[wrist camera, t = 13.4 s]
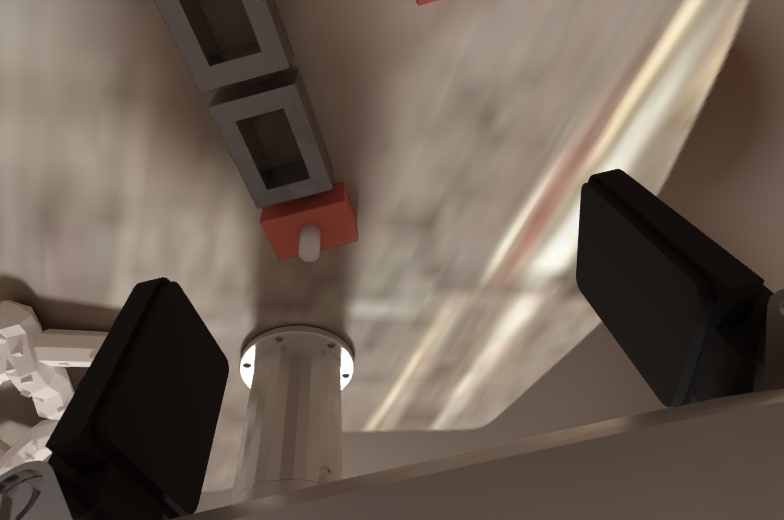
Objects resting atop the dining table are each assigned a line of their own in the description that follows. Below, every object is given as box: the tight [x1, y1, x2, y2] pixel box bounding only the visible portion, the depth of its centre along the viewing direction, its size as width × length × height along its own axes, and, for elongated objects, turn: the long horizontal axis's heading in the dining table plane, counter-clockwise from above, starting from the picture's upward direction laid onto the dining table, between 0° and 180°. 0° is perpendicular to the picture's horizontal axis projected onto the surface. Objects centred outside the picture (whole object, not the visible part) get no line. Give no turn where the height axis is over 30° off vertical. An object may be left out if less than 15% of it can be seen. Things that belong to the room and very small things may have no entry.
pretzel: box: [0, 300, 109, 476], centre depth 48 cm, size 28×24×6 cm
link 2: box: [208, 69, 333, 209], centre depth 33 cm, size 8×6×4 cm
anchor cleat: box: [260, 183, 358, 262], centre depth 36 cm, size 4×7×6 cm, turn 103°
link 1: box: [154, 0, 293, 92], centre depth 27 cm, size 8×6×4 cm
